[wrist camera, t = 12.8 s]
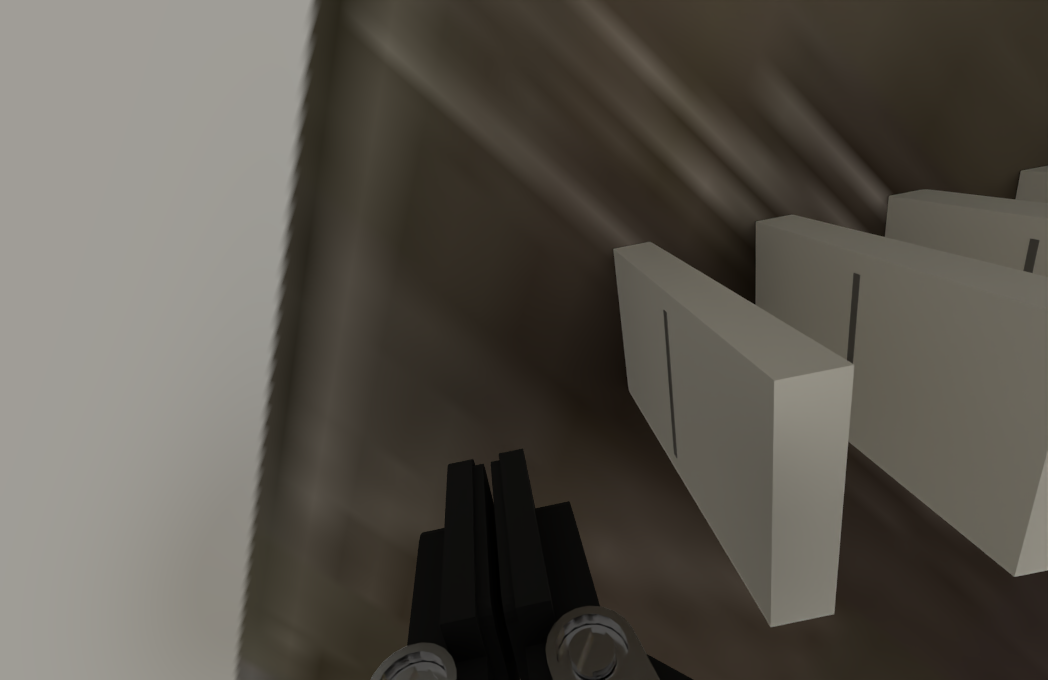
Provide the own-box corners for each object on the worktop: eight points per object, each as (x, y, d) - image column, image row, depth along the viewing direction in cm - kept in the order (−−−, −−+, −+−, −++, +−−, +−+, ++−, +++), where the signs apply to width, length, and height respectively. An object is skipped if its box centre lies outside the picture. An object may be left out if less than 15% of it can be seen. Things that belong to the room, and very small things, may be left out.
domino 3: (792, 214, 19) (1161, 304, 9) (788, 359, 21) (1077, 564, 11) (755, 221, 19) (1080, 320, 9) (755, 365, 21) (1013, 577, 11)
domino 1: (628, 390, 21) (769, 627, 11) (612, 248, 19) (773, 380, 9) (662, 384, 21) (835, 613, 11) (651, 241, 19) (855, 364, 9)
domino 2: (925, 189, 19) (1441, 249, 9) (907, 335, 21) (1301, 517, 11) (888, 195, 19) (1363, 264, 9) (873, 342, 21) (1238, 530, 11)
